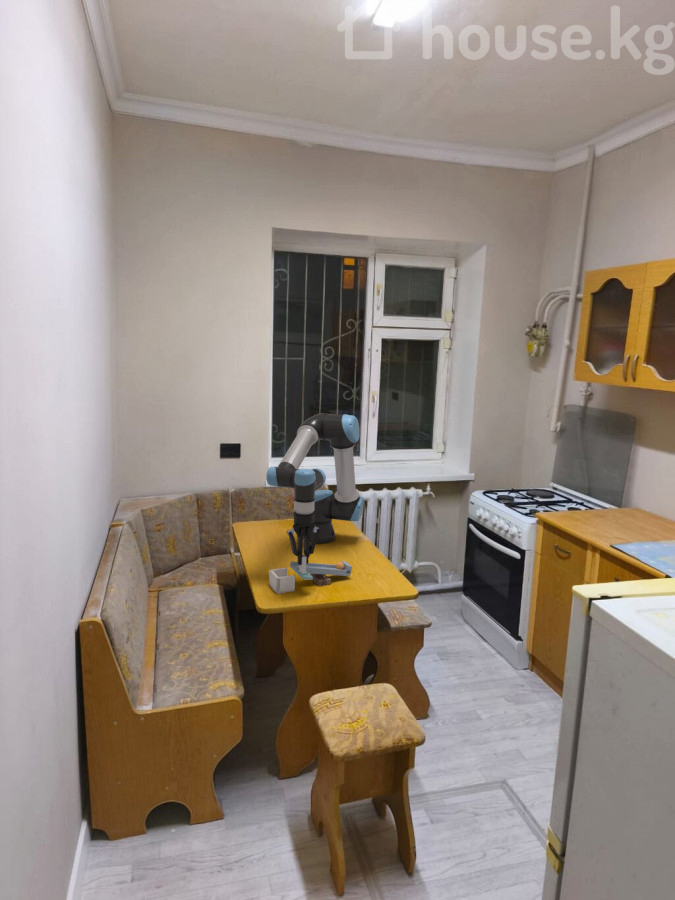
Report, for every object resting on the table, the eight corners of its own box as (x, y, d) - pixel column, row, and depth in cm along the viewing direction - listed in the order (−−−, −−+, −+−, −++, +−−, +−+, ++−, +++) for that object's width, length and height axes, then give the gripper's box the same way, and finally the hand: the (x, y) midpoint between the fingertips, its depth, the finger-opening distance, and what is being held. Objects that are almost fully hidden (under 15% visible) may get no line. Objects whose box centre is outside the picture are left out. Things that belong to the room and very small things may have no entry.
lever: (343, 570, 237) (345, 561, 237) (358, 582, 225) (360, 572, 225) (289, 566, 226) (291, 556, 225) (302, 579, 214) (305, 568, 214)
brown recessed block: (321, 575, 234) (321, 567, 234) (330, 584, 227) (331, 575, 226) (309, 577, 232) (310, 569, 232) (319, 586, 224) (319, 577, 224)
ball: (340, 569, 235) (343, 561, 235) (344, 572, 232) (347, 564, 232) (333, 568, 233) (335, 559, 233) (336, 571, 230) (339, 562, 230)
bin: (286, 581, 228) (286, 567, 227) (294, 590, 220) (294, 575, 219) (269, 584, 225) (269, 570, 224) (277, 593, 217) (277, 578, 216)
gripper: (316, 507, 220) (314, 566, 224) (283, 510, 214) (282, 571, 218) (324, 512, 213) (322, 573, 217) (291, 515, 207) (290, 578, 211)
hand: (302, 572), depth 218 cm, fingers closed
